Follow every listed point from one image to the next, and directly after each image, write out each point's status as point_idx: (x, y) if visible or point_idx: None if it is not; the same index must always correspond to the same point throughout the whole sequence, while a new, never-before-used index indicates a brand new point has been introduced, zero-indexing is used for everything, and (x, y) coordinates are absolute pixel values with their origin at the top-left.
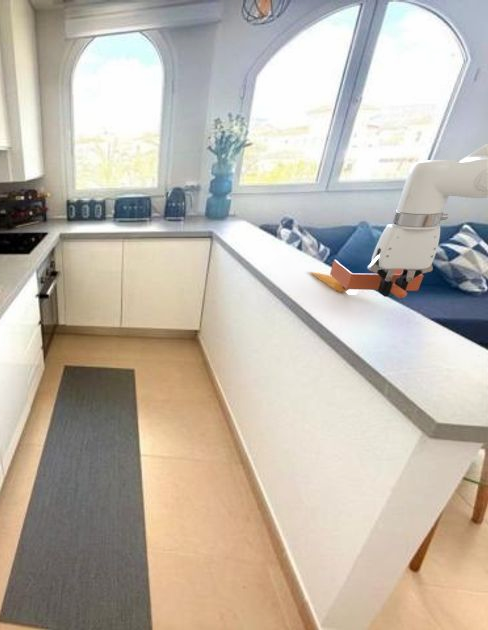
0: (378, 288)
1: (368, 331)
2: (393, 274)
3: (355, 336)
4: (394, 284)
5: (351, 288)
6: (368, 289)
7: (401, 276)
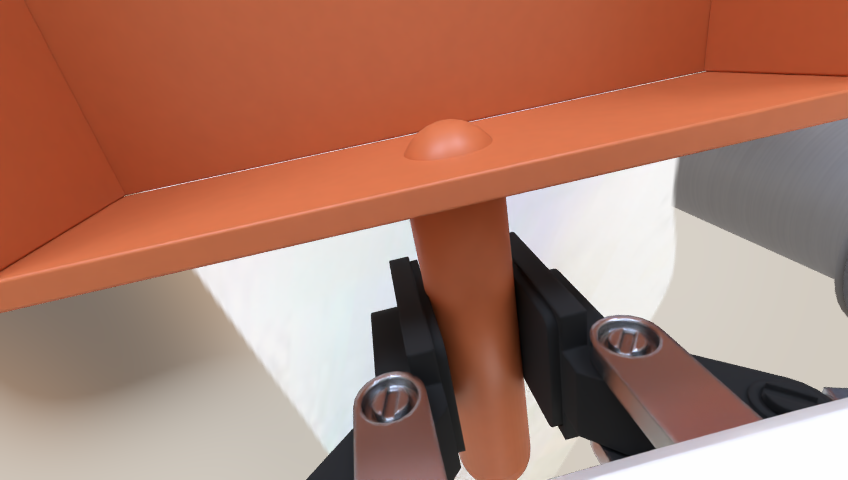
0: (371, 315)
1: (366, 237)
2: (572, 167)
3: (307, 310)
4: (492, 368)
5: (158, 189)
6: (322, 150)
7: (587, 390)
